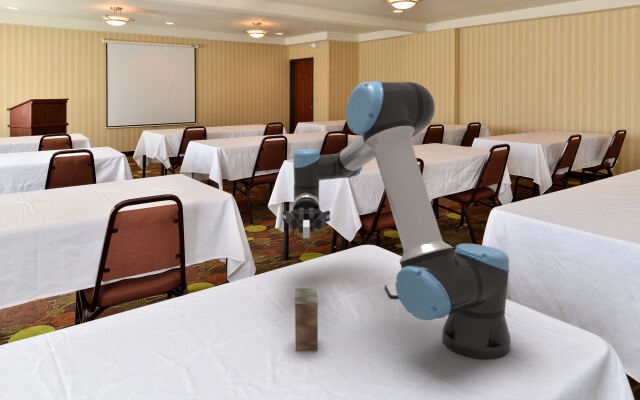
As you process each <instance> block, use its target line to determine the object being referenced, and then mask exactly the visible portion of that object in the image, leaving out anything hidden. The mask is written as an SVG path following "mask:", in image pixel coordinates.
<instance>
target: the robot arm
mask: <svg viewBox="0 0 640 400" xmlns="http://www.w3.org/2000/svg"><path fill="white" fill-rule="evenodd" d="M435 109H436V108H435V101H434V97H433V95H432V94H431V92H430V91H429V90H428V89H427V88H426V87H425V86H423V85H421V84H419V83H417V82H413V81H403V82H402V81H398V82H397V81H379V80H374V81H366V82H365V81H364V82H361V83H359V84H358V85H356V86H355V88H353V89H352V91H351V92H350V94H349V97H348V101H347V104H346V111H345V112H346V113H345V115H346V117H345V118H346V123H347V126H348V128H349V130H350V132H353V134H355V135H358V136H359V137H357V138H355V140H354V141H352V142H351V143H350V144H348V145H347V146H346V147H345V148H343V149H341V150H340V151H339V152H337V153H333V154H320V151H319V150H317V149H314V148H312V149H311V148H308V149H307V148H303V149H297V150H295V151H294V155H293V181H294V183H293V207H292V210H291V211H288V210H283V211H282V222H285V223H286V224H287V225H288V226H289V227H290V229H291V230H297V229H298V233H299V234H302V238H303V239H311V238H310V233H313V232H315V229H316V230H322V228H323V227H324V226H325V224H326V223H328V222H330V221H331V211H330V210H326V211H322V210H321V207H320V181H324V180H325V181H326V180H335V179H350V178H354V177H357V176H359V175H360V174H361V171H362V170H363V167H364V166H365V165H366V164H368V163H370V161H372V160H374V159H375V160H376V163H377V166H378V170H379V173H380V176H381V179H382V184H383V187H384V189H385V192H386V196H387V199H388V203H389V206H390V210H391V213H392V216H393V219H394V222H395V223H394V224H395V226H396V229H397V233H398V235H399V239H400V242H401V247H402V250H403V252H402V253H403V255H401V257H400V259H399V265H400V267H401V269H400V270H399V271H398V272H397V274H396V278H395V279H396V281H395V284H396V291H397V295H398V297H399V299H398V300H399V302H400V304H401V305H402V306H403V307H404V309H405V311H407V312H408V313H409V314H411V315H412V316H413V317H415V318H417V319H418V320H422V321H432V320H435V319H443V318H446V317H447V318H446V321H445V324H444V325H443V328H442V334H441V335H442V336H441V337H442V342H443V344H444V345H445V346H446V347H447V348H448V349H450V350H451V351H453V352H454V353H456V354H459V355H461V356H465V357H467V358H468V357H469V358H473V359H483V360H491V359H498V358H500V357H504V356H506V355H507V354H509V352H510V350H511V335H510V332H509V328H508V327H509V326H508V324H507V319H506V316H505V314H506V305H507V304H506V303H507V293H508V291H507V290H508V281H509V272H510V269H509V268H510V257H509V256H508V255H507V253H506V252H504V251H503V250H500V249H498V248H495V247H492V246H488V245H482V244H475V243H459V244H456V246H455V249H453V246H452V245H451V244H448V243H446V242H445V241H444V240H443V238H442V234H441V232H440V229H439V225H438V221H437V219H436V216H435V213H434V212H435V211H434V210H433V207H432V203H431V200H430V196H429V194H428V191H427V188H426V184H425V182H424V178H423V175H422V172H421V169H420V166H419V163H418V160H417V156H416V154H415V150H414V147H413V144H412V140H411V139H412V138H413V137H415V136H416V135H418V134H420V133H421V132H422V131H423V130H425V128H427V127H428V126H429V125H430V123H431V122H432V120H433V118H434V115H435Z"/></svg>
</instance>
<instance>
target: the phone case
mask: <svg viewBox="0 0 640 400" xmlns="http://www.w3.org/2000/svg"><path fill="white" fill-rule="evenodd" d="M384 291H385V293H386V295H387V297H388V298H389V299H391V300H400V299H399V297H398V295H397V291H396V283H395V284H386V285H384Z"/></svg>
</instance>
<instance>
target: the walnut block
mask: <svg viewBox="0 0 640 400" xmlns="http://www.w3.org/2000/svg"><path fill="white" fill-rule="evenodd" d="M318 304H319V294H318V287H316V288H315V287H310V288H309V287H304V288H302V287H301V288H299V287H297V288H296V287H295V291H294V308H295V309H294V314H295V315H294V319H295V321H294V325H295V328H294V329H295V331H294V332H295V333H294V334H295V337H294V338H295V352H305V351H306V352H314V351H315V352H317V351H318V348H319V344H318V343H319V339H318V338H319V335H318V334H319V333H318V330H319V327H318V326H319V324H318V323H319V319H318V318H319V317H318V316H319V307H318Z"/></svg>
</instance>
